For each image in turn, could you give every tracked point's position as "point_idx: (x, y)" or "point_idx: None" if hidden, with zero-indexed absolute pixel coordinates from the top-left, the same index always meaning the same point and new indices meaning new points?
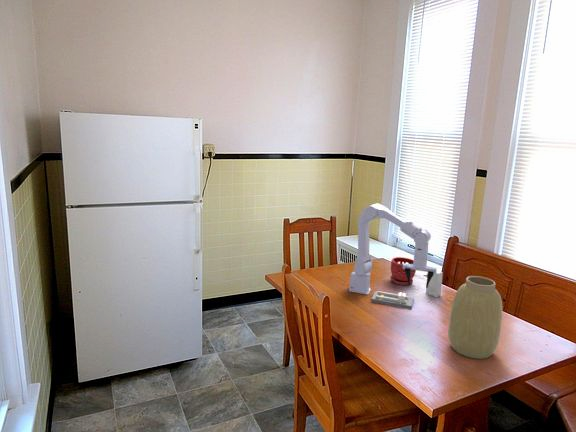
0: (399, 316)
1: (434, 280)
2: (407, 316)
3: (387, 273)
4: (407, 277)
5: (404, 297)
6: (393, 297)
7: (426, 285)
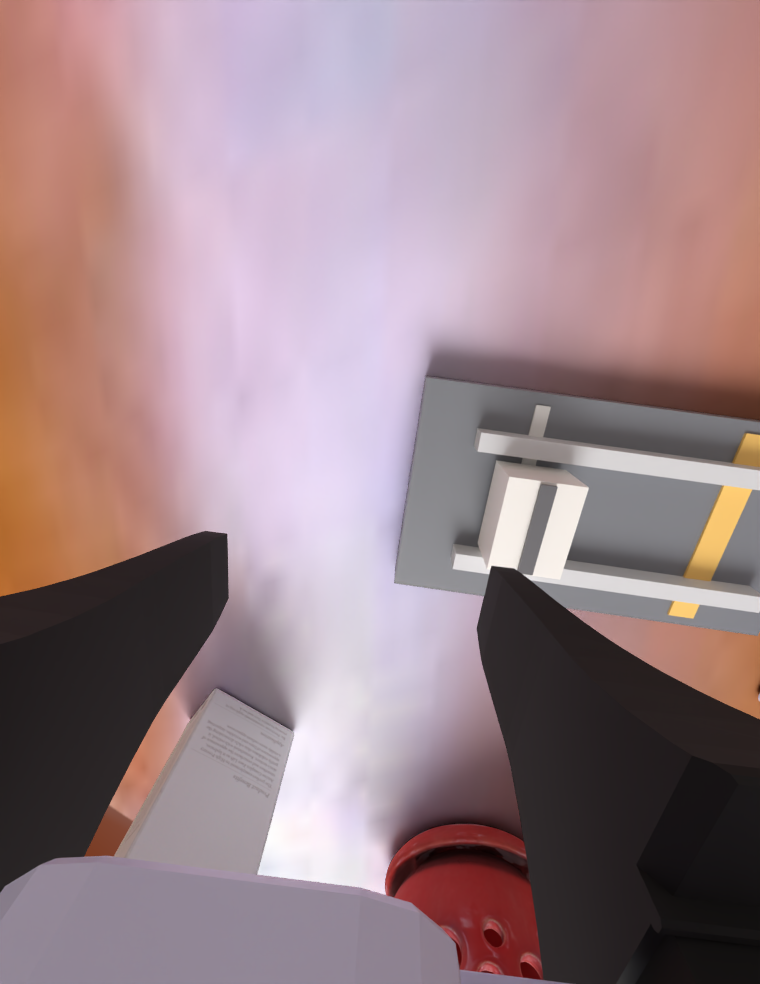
0: (572, 115)
1: (174, 846)
2: (478, 157)
3: None
4: (620, 649)
5: (510, 473)
6: (594, 540)
7: (199, 543)
